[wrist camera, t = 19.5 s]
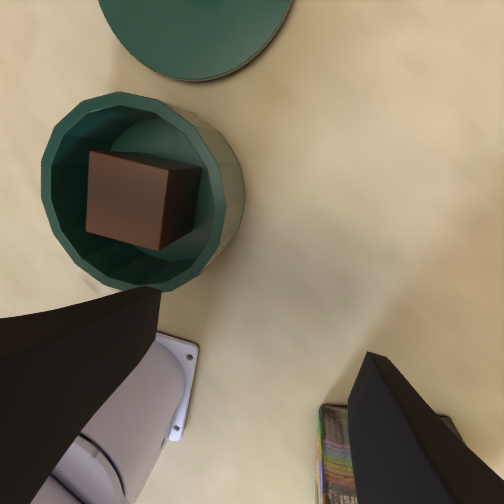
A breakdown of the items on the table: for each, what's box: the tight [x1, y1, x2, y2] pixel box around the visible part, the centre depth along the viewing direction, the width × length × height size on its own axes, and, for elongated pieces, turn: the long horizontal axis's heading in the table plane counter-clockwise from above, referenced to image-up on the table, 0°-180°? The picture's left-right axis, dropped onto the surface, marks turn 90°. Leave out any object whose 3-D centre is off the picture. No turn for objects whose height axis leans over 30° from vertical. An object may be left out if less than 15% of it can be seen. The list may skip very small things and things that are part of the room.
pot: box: [41, 92, 245, 293], centre depth 18 cm, size 10×10×5 cm
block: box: [86, 151, 202, 251], centre depth 18 cm, size 4×4×5 cm
